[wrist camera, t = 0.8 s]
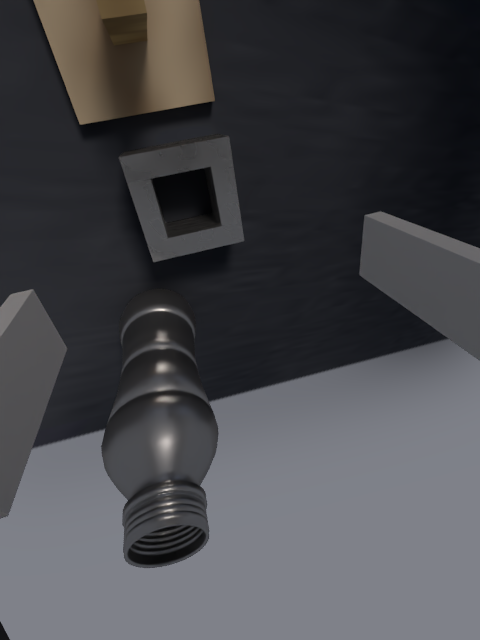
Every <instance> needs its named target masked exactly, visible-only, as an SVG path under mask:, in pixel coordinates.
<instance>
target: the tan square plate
mask: <svg viewBox="0 0 480 640" xmlns="http://www.w3.org/2000/svg"><path fill="white" fill-rule="evenodd" d="M33 1H34V3H35V6H36V9H37V11H38V14H39V17H40V19H41V22H42V25H43V27H44V30H45V33H46V35H47V38H48V41H49V43H50V46H51V49H52V51H53V54H54V57H55V59H56V62H57V65H58V67H59V70H60V73H61V75H62V78H63V81H64V83H65V86H66V89H67V91H68V94H69V97H70V99H71V102H72V105H73V107H74V110H75V113H76V116H77V118H78V121H79V124H80V125H83V124H88V123H94V122H99V121H105V120H111V119H116V118H122V117H128V116H133V115H139V114H144V113H150V112H156V111H161V110H167V109H172V108H178V107H184V106H189V105H195V104H201V103H206V102H212V101H215V98H214V92H213V86H212V79H211V73H210V67H209V61H208V54H207V48H206V42H205V35H204V29H203V23H202V17H201V10H200V4H199V0H33Z"/></svg>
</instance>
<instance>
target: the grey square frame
mask: <svg viewBox="0 0 480 640" xmlns="http://www.w3.org/2000/svg"><path fill="white" fill-rule="evenodd" d="M119 160H120V163H121V166H122V169H123V172H124V175H125V178H126V181H127V184H128V187H129V190H130V193H131V196H132V199H133V202H134V205H135V208H136V211H137V214H138V217H139V220H140V223H141V226H142V229H143V232H144V235H145V239H146V242H147V245H148V248H149V251H150V254H151V257H152V260H153V262H157V261H161V260H166V259H170V258H174V257H178V256H183V255H187V254H191V253H196V252H200V251H204V250H208V249H213V248H217V247H221V246H225V245H230V244H234V243H238V242H242V241H244V236H243V229H242V222H241V215H240V208H239V202H238V195H237V188H236V181H235V174H234V167H233V160H232V153H231V147H230V140H229V136H225V135H221V134H215V135H209V136H204V137H199V138H194V139H188V140H183V141H178V142H173V143H168V144H162V145H157V146H152V147H147V148H141V149H136V150H131V151H126V152H123V153H122V154H121V155H120V157H119ZM201 168H204V171H205V176H206V181H207V186H208V191H209V197H210V202H211V207H212V212H213V213H209V214H205V215H200V216H196V217H191V218H187V219H182V220H178V221H173V222H169V223H165V220H164V216H163V213H162V209H161V206H160V202H159V199H158V195H157V192H156V188H155V185H154V181H153V178H157V177H162V176H167V175H172V174H177V173H182V172H186V171H191V170H196V169H201Z"/></svg>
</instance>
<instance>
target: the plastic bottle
mask: <svg viewBox="0 0 480 640" xmlns="http://www.w3.org/2000/svg"><path fill="white" fill-rule="evenodd" d="M119 333H120V341H121V345H122V371H121V377H120V382H119V387H118V392H117V395H116V398H115V402H114V405H113V408H112V411H111V414H110V417H109V420H108V423H107V425H106V429H105V433H104V438H103V442H102V446H101V447H102V457H103V461H104V466H105V469H106V472H107V474H108V476H109V477H110V479H111V480H112V482H113V483H114V485H115V486H116V487H117V488H118V490H119V491H120V492H121V493H122V494H123V495H124V496H125V497H126V498H127V500H128V502H127V503H126V504H125V506H124V509H123V526H124V547H123V552H124V558H125V560H126V562H128V563H129V564H131V565H133V566H136V567H143V568H155V567H162V566H167V565H170V564H174V563H177V562H180V561H182V560H185V559H187V558H189V557H191V556H192V555H194V554H195V553H197V552H198V551H200V550H201V549H202V548H203V547H204V545H205V544H206V543H207V541H208V539H209V527H208V521H207V515H206V508H207V501H206V494H205V491H204V490H203V488H202V487H200V485H201V483H202V481H203V479H204V477H205V476H206V474H207V472H208V470H209V468H210V465H211V463H212V460H213V458H214V456H215V453H216V448H217V441H218V426H217V423H216V419H215V416H214V413H213V411H212V409H211V406H210V404H209V401H208V399H207V396H206V394H205V391H204V389H203V386H202V383H201V379H200V376H199V372H198V369H197V364H196V360H195V345H194V340H195V333H196V320H195V315H194V312H193V310H192V309H191V307H190V305H189V304H188V302H187V301H186V300H185V299H184V298H183V297H182V296H181V295H180V294H178V293H176V292H174V291H171V290H167V289H151V290H147V291H144V292H142V293H140V294H138V295H136V296H135V297H134V298H133V299H131V301H130V302H129V303H128V304H127V306H126V308H125V310H124V312H123V314H122V316H121V318H120V322H119Z"/></svg>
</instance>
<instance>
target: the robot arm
mask: <svg viewBox="0 0 480 640" xmlns="http://www.w3.org/2000/svg"><path fill="white" fill-rule="evenodd" d="M359 275H360V276H361V277H363V278H364V279H366V280H367V281H368V282H370V283H371V284H373V285H374V286H375V287H377V288H378V289H380V290H381V291H382V292H384V293H385V294H387V295H388V296H390V297H391V298H392V299H394V300H395V301H397V302H398V303H399V304H401V305H402V306H404V307H405V308H406V309H408V310H409V311H411V312H412V313H413V314H415V315H416V316H418V317H419V318H420V319H422V320H423V321H425V322H426V323H428V324H429V325H430V326H432V327H433V328H435V329H436V330H437V331H439V332H440V333H442V334H443V335H444V336H446V337H447V338H449V339H450V340H451V341H453V342H454V343H456V344H457V345H459V346H460V347H461V348H463V349H464V350H466V351H467V352H468V353H470V354H471V355H473V356H474V357H476V358H477V359H478V360H480V248H477V247H475V246H472V245H469V244H467V243H464V242H461V241H459V240H456V239H453V238H451V237H448V236H445V235H443V234H440V233H437V232H435V231H432V230H429V229H427V228H424V227H421V226H419V225H416V224H413V223H410V222H408V221H405V220H402V219H400V218H397V217H394V216H392V215H389V214H386V213H384V212H377V213H372V214H368V215H364V226H363V238H362V250H361V261H360V273H359ZM66 350H67V347H66V346H65V344H64V342H63V340H62V339H61V337H60V335H59V333H58V332H57V330H56V328H55V326H54V325H53V323H52V321H51V319H50V318H49V316H48V314H47V312H46V311H45V309H44V307H43V306H42V304H41V302H40V300H39V299H38V297H37V295H36V293H35V292H34V290H28V291H24V292H19V293H15V294H11V295H10V296H9V297H8V298H7V300H6V301H5V302H4V303H3V305H2V306H1V307H0V518H3V517H6V516H8V515H9V512H10V509H11V506H12V503H13V500H14V498H15V495H16V492H17V489H18V486H19V483H20V481H21V478H22V475H23V472H24V469H25V466H26V464H27V461H28V458H29V455H30V452H31V449H32V447H33V444H34V441H35V438H36V435H37V432H38V430H39V427H40V424H41V421H42V418H43V415H44V413H45V410H46V407H47V404H48V401H49V398H50V396H51V393H52V390H53V387H54V384H55V381H56V379H57V376H58V373H59V370H60V367H61V364H62V362H63V359H64V356H65V353H66ZM0 640H10V639H9V637H8V635H7V633H6V632H5V630H4V628H3V626H2V624H1V622H0Z"/></svg>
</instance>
